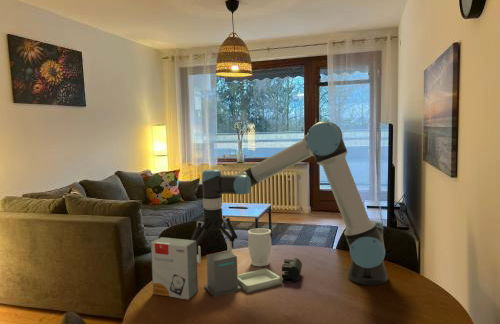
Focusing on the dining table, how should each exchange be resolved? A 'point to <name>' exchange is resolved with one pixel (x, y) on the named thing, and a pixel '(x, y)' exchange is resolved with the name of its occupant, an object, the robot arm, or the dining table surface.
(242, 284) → the tray
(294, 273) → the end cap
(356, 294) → the dining table surface
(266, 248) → the jar
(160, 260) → the hard drive box
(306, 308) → the dining table surface
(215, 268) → the unit
